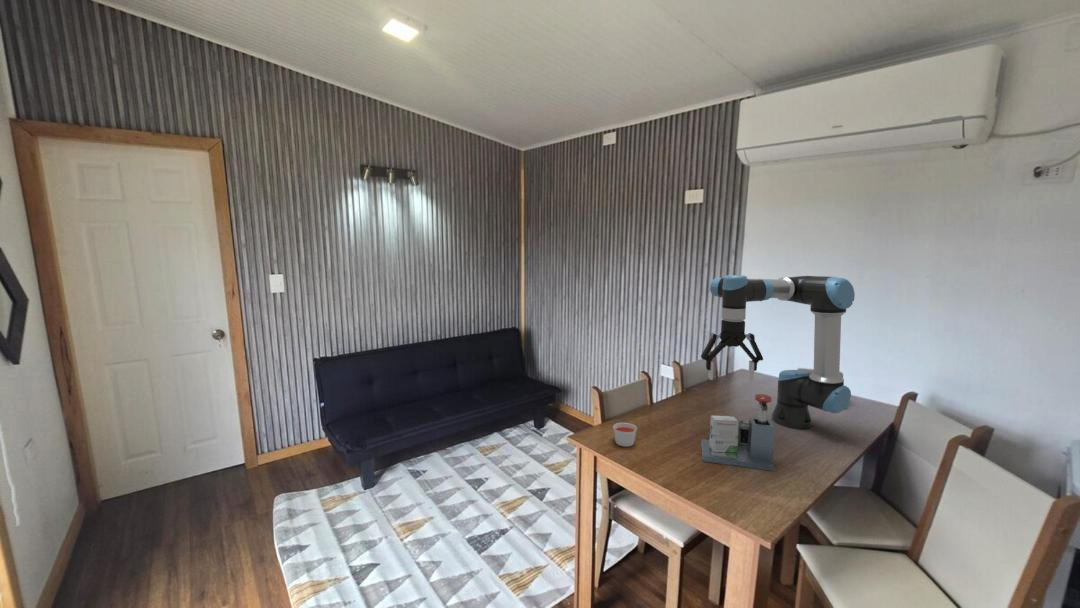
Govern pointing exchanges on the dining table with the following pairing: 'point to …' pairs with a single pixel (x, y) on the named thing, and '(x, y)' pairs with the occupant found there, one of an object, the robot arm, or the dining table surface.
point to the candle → (624, 434)
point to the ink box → (724, 434)
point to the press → (747, 448)
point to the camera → (743, 432)
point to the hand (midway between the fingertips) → (730, 379)
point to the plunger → (762, 407)
